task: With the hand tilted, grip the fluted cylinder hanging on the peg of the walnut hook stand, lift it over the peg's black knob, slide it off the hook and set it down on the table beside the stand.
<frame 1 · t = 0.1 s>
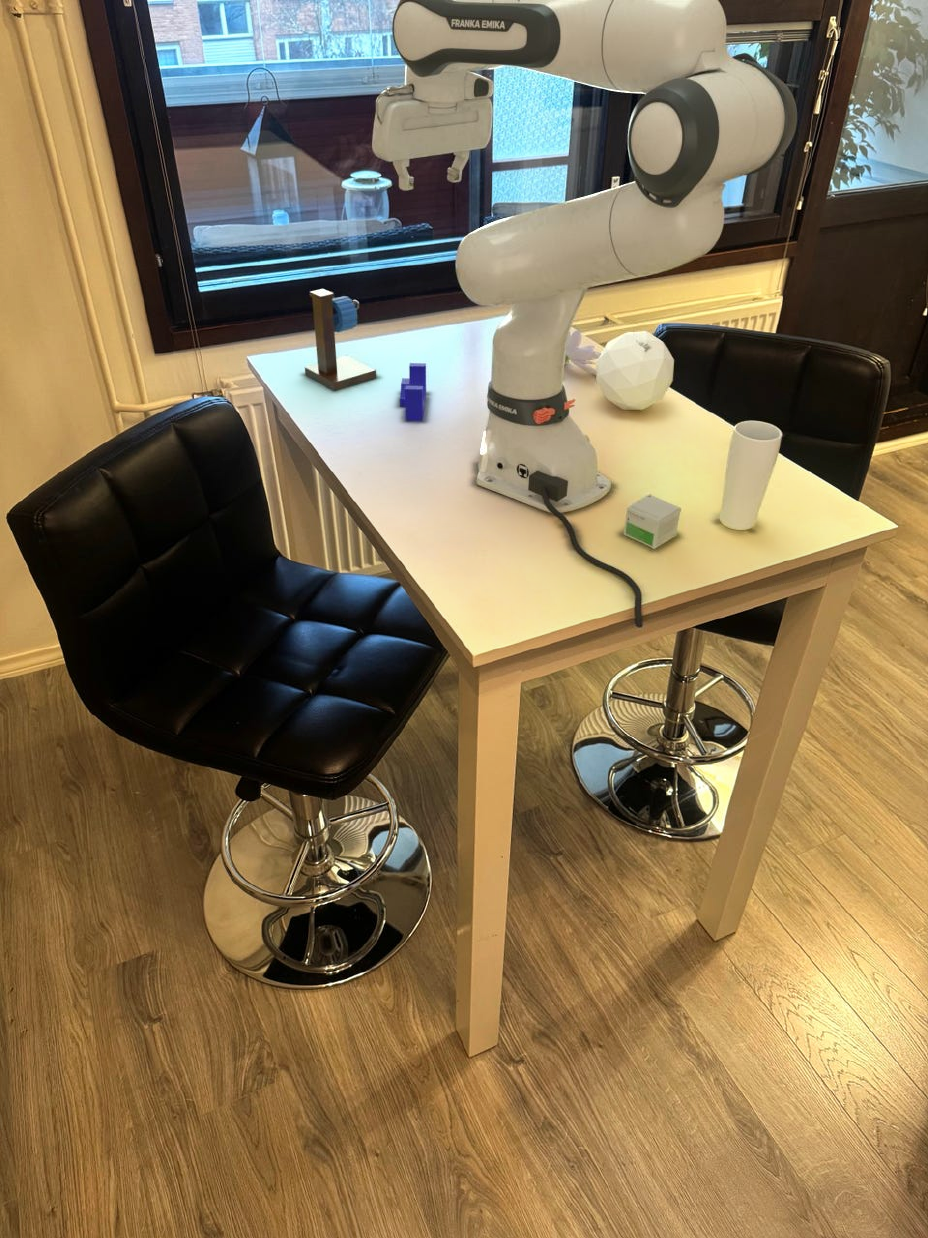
hand: (430, 184, 138), 39 cm above the table, tool pointing down, fingers open, 8 cm apart
water lily: (574, 374, 180), on the table
drinking glass: (736, 523, 135), on the table
hook stand: (340, 376, 177), on the table
geodesic sphere: (629, 406, 168), on the table
cable clip: (412, 407, 166), on the table
fluted cylinder: (342, 329, 172), point 9 cm above the table, touching hook stand
small box: (649, 536, 132), on the table
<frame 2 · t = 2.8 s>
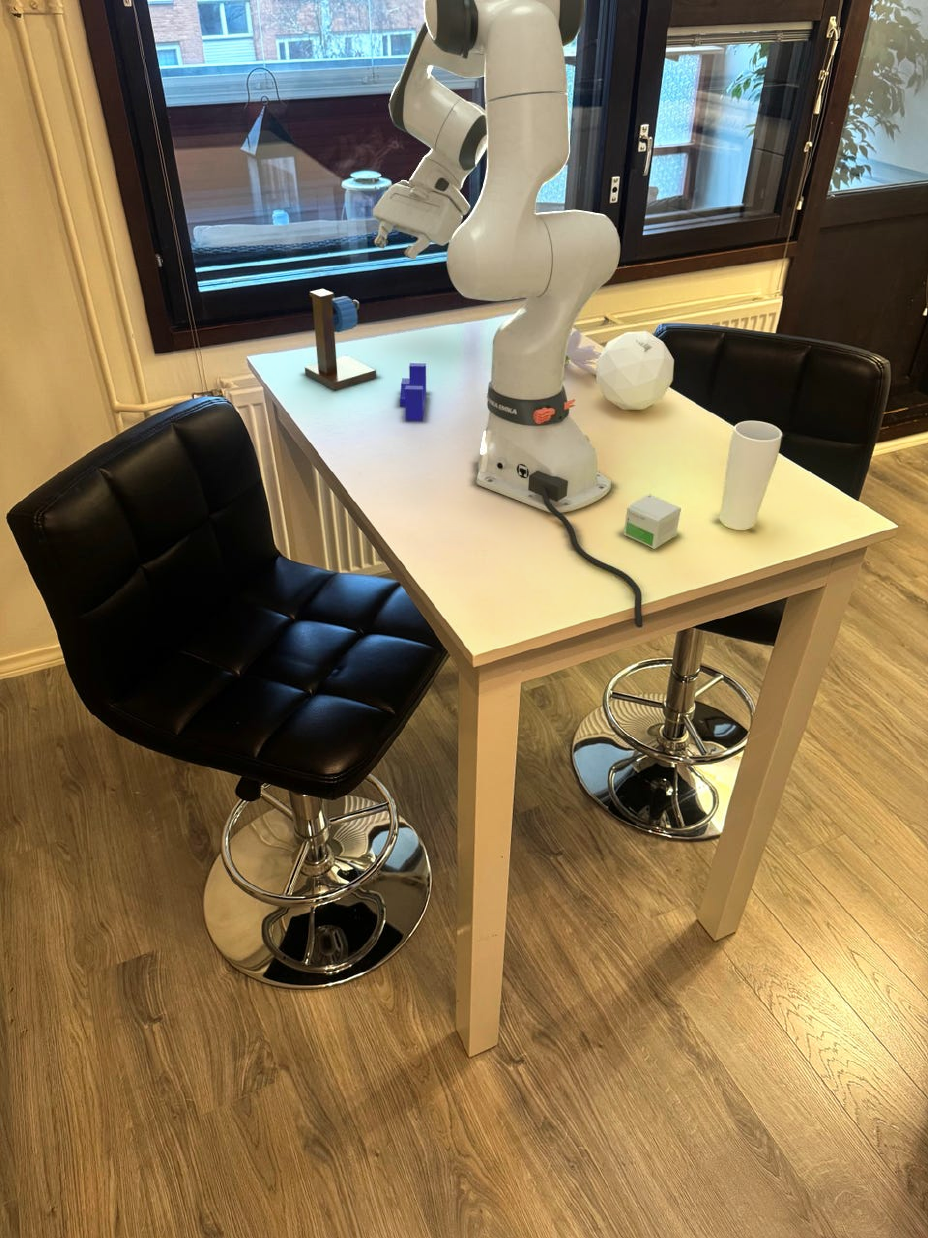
hand: (393, 251, 171), 21 cm above the table, tool tilted 45°, fingers open, 8 cm apart
nothing on the table moved.
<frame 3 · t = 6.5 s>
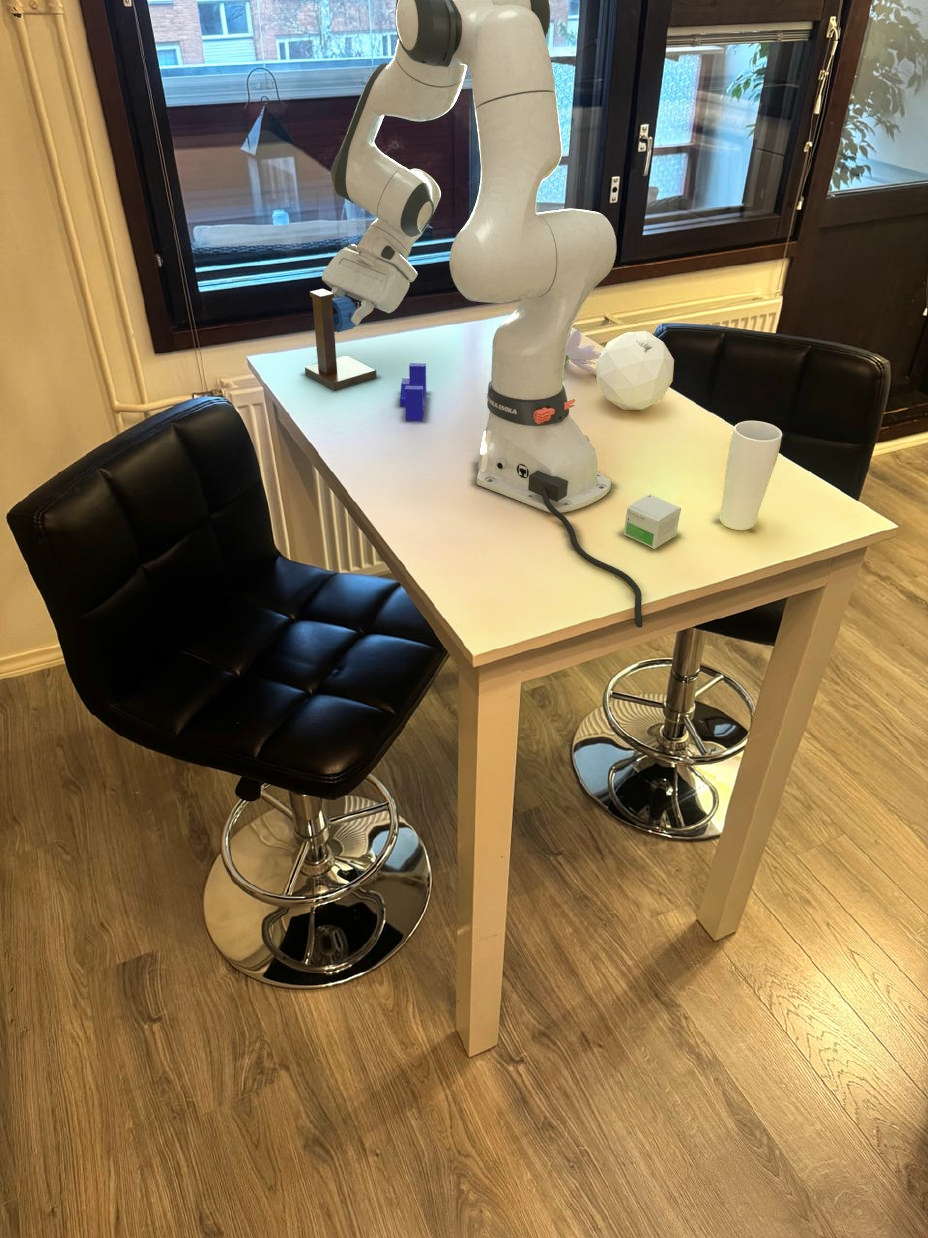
hand: (341, 317, 171), 11 cm above the table, tool tilted 45°, fingers closed on fluted cylinder, 6 cm apart
fluted cylinder: (341, 329, 172), point 9 cm above the table, touching gripper, hook stand
everything else where it was.
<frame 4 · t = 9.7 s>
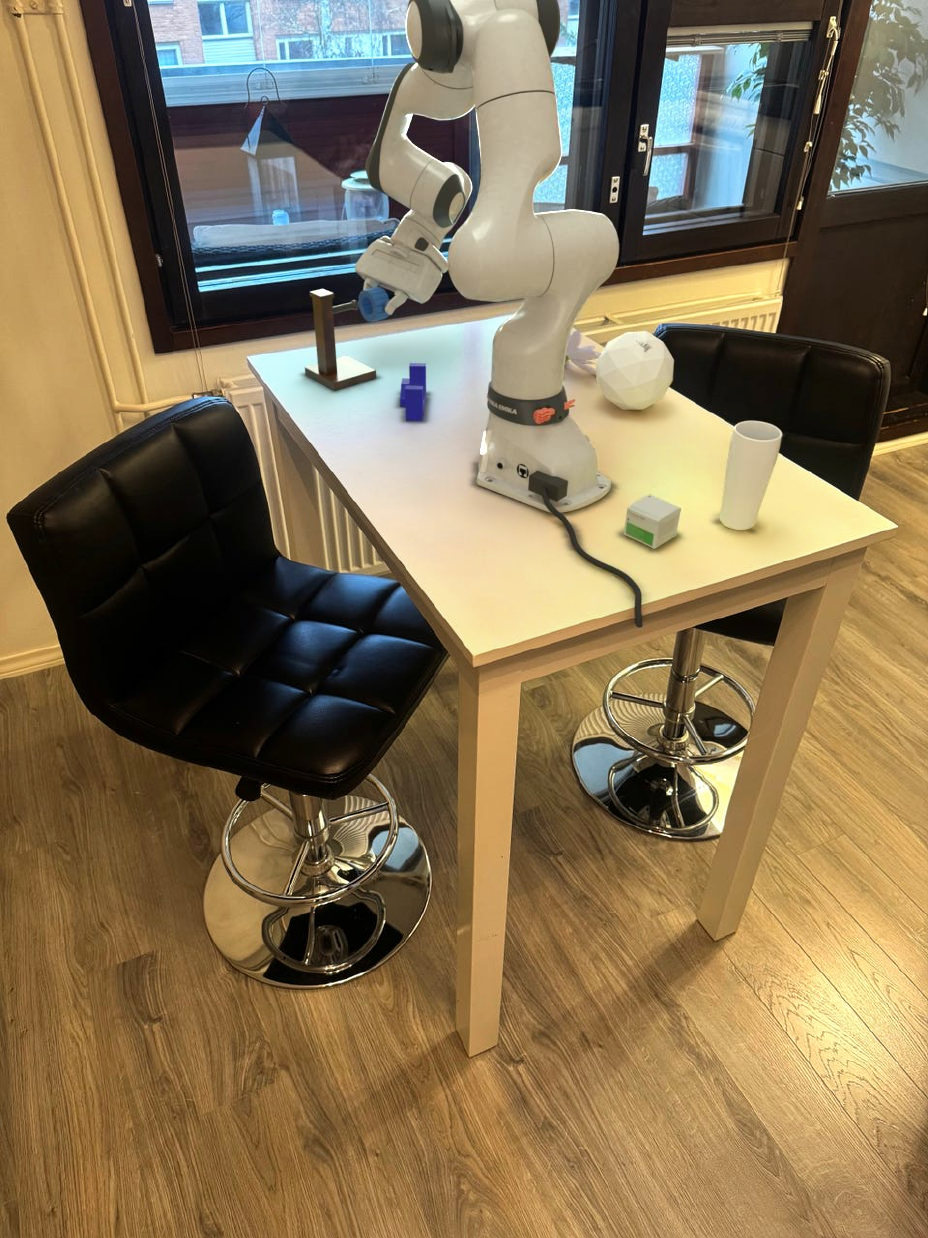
hand: (374, 307, 175), 12 cm above the table, tool tilted 45°, fingers closed on fluted cylinder, 6 cm apart
fluted cylinder: (375, 319, 176), point 9 cm above the table, touching gripper
everything else where it was.
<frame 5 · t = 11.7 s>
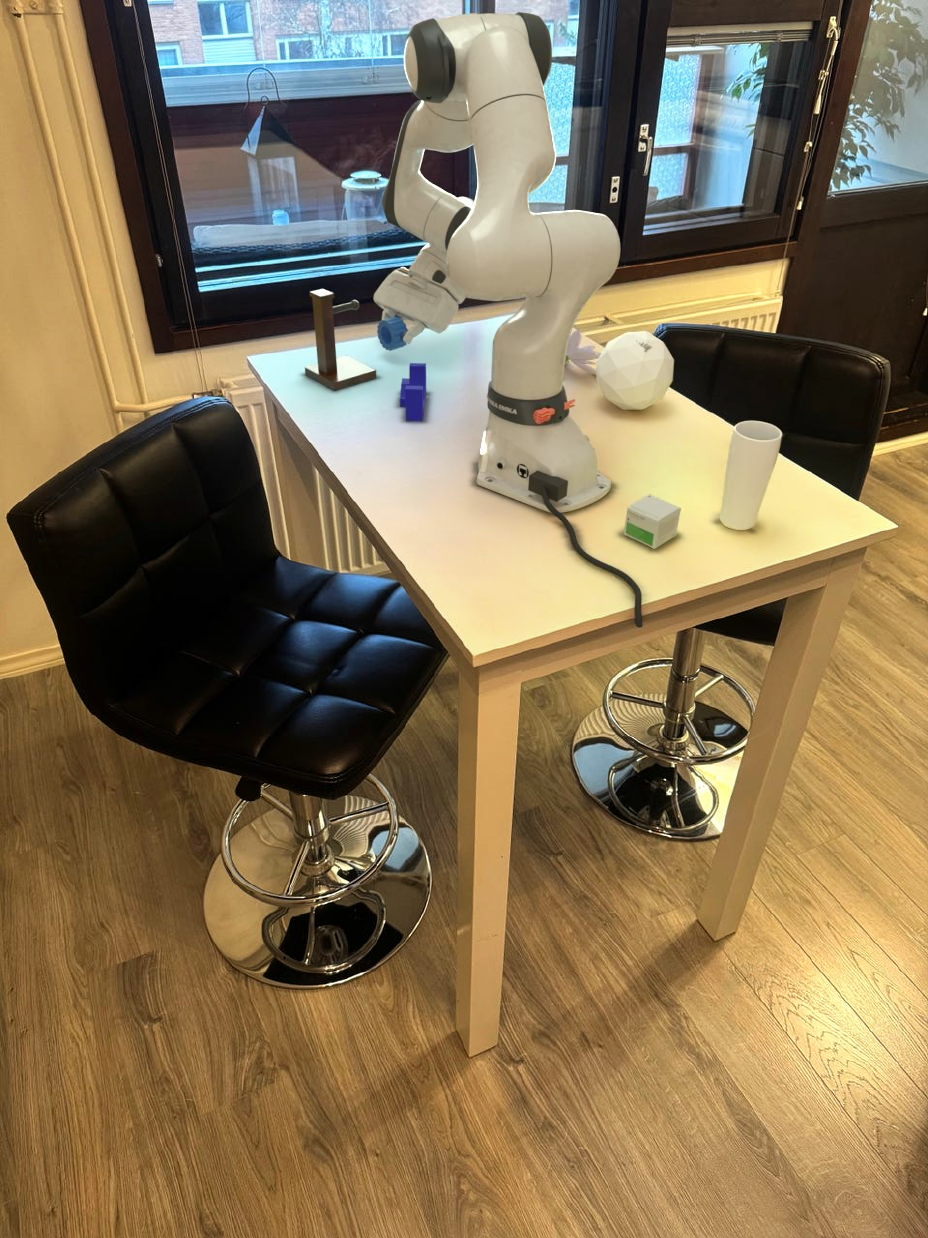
hand: (392, 336, 181), 5 cm above the table, tool tilted 45°, fingers closed on fluted cylinder, 6 cm apart
fluted cylinder: (393, 348, 183), point 3 cm above the table, touching gripper
everything else where it was.
when the fingers open (2 cm above the table, at t = 13.1 s): fluted cylinder stays where it is, on the table.
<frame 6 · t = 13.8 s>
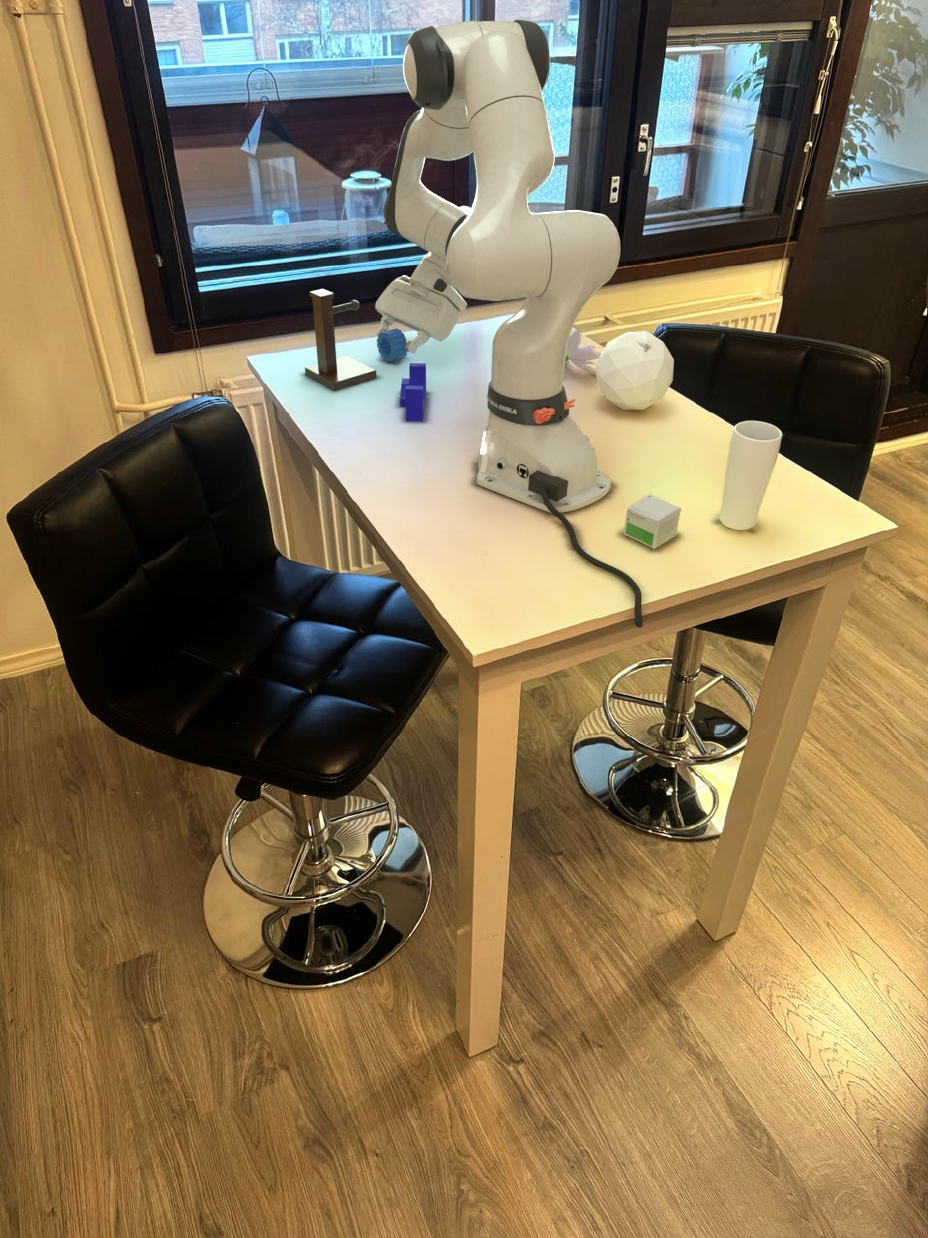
hand: (394, 344, 182), 3 cm above the table, tool tilted 45°, fingers open, 8 cm apart
fluted cylinder: (394, 360, 184), on the table, tilted 11°
everything else where it was.
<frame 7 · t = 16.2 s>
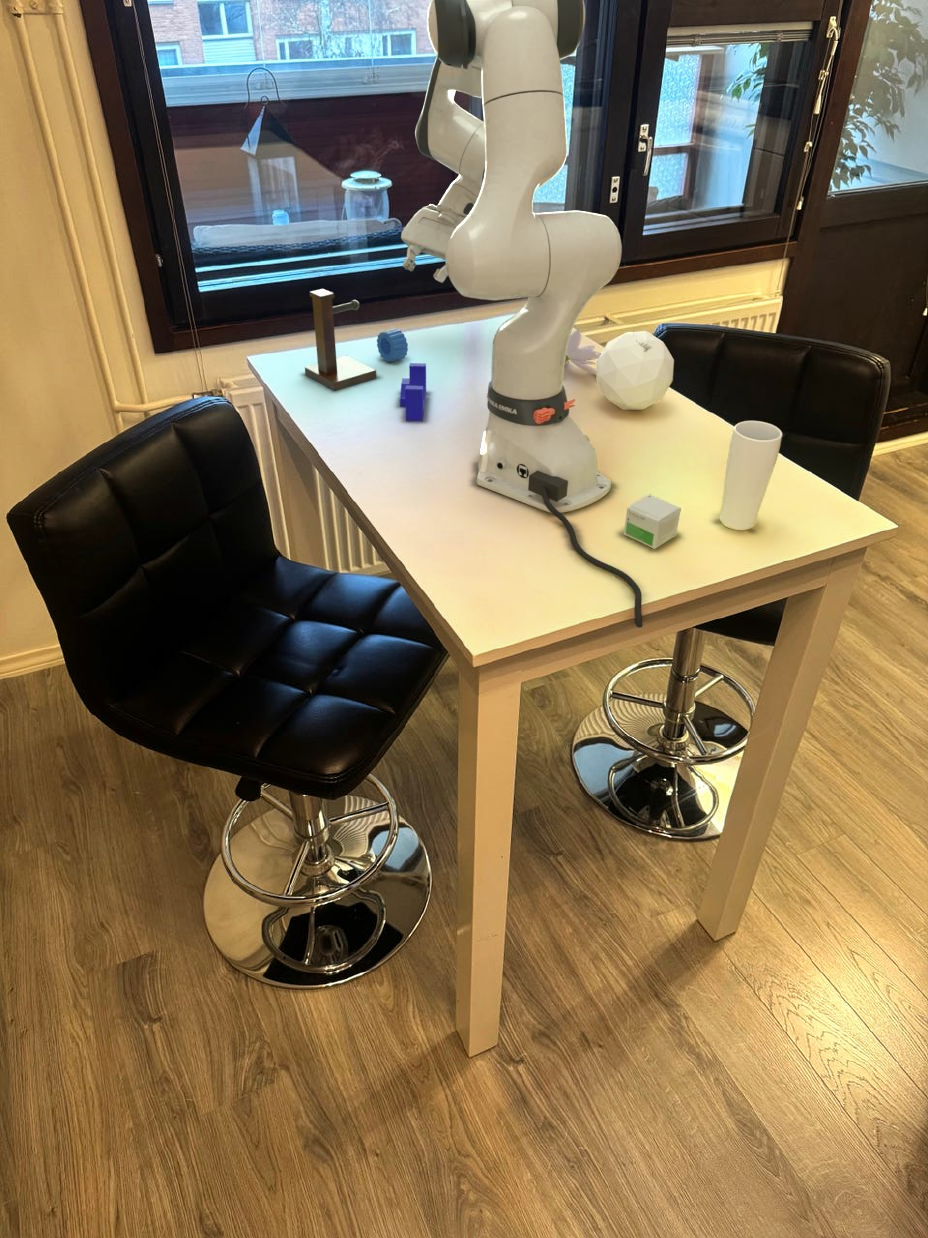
hand: (421, 274, 175), 17 cm above the table, tool tilted 45°, fingers open, 8 cm apart
nothing on the table moved.
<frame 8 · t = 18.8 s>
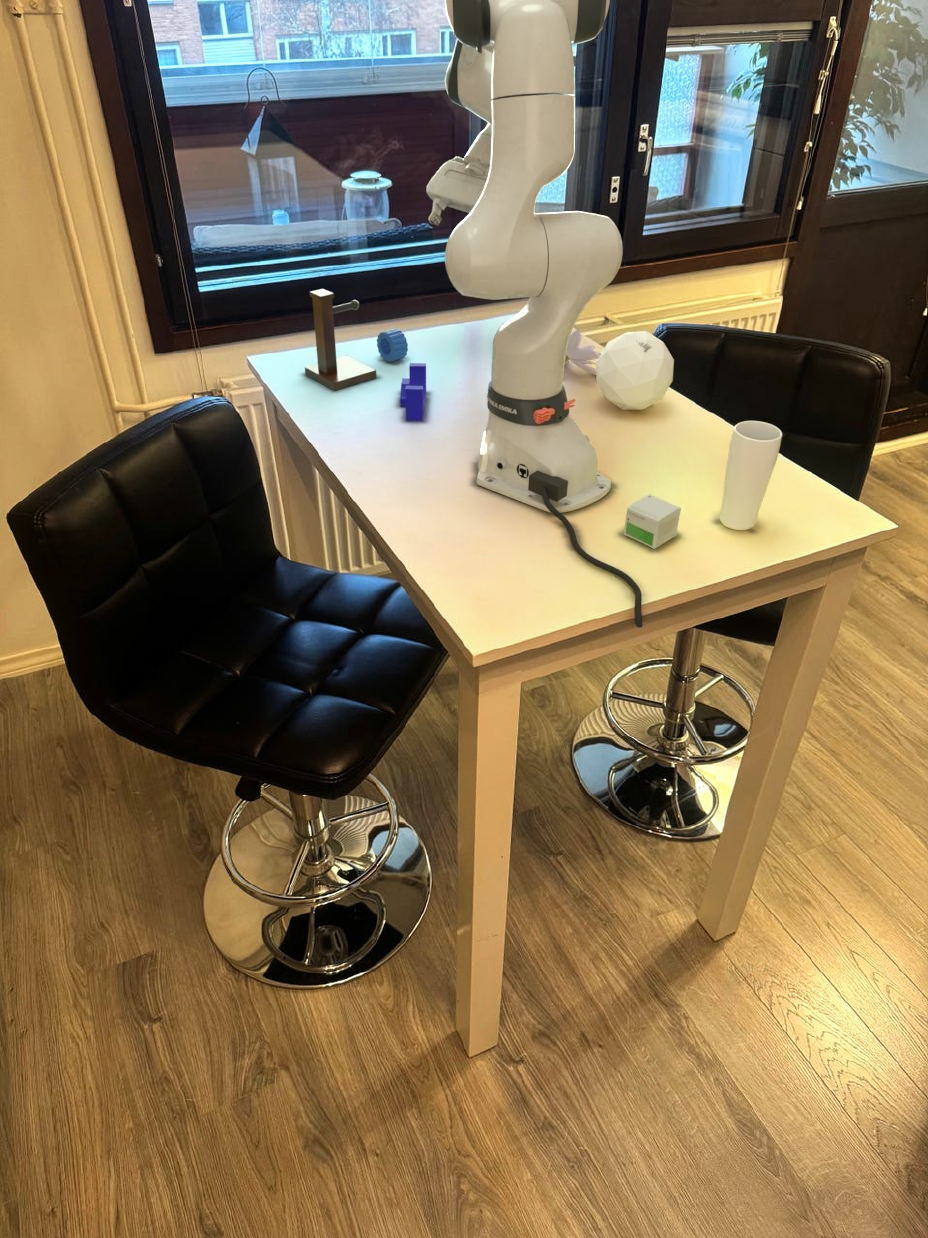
hand: (448, 227, 170), 25 cm above the table, tool tilted 45°, fingers open, 8 cm apart
nothing on the table moved.
at the end: fluted cylinder inside the target area (2.1 cm from its centre), on the table; fluted cylinder touching table; the gripper is holding nothing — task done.
